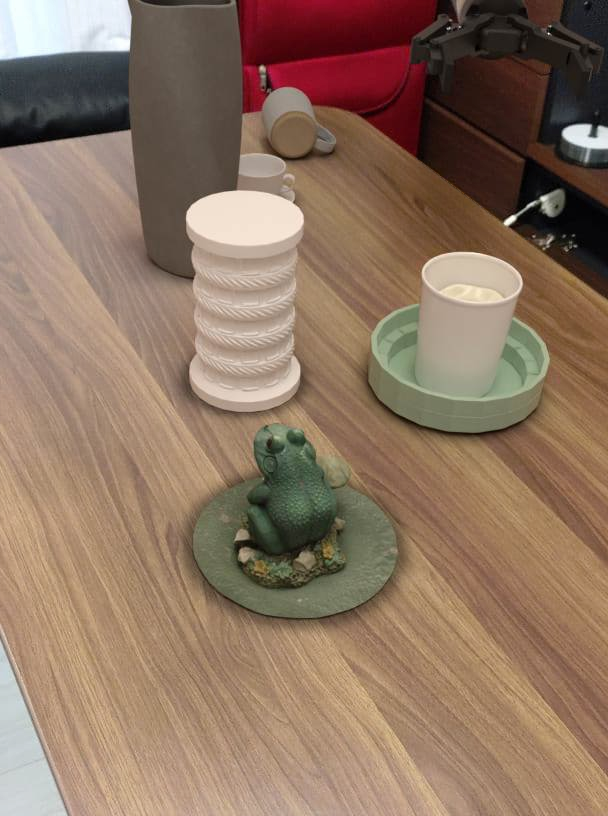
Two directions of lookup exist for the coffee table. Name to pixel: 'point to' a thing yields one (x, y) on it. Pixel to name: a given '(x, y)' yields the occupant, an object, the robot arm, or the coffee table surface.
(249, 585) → the frog figurine
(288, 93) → the ceramic mug
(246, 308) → the decorative container
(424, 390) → the bowl
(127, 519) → the coffee table surface
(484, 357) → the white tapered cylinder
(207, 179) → the vase
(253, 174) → the teacup
